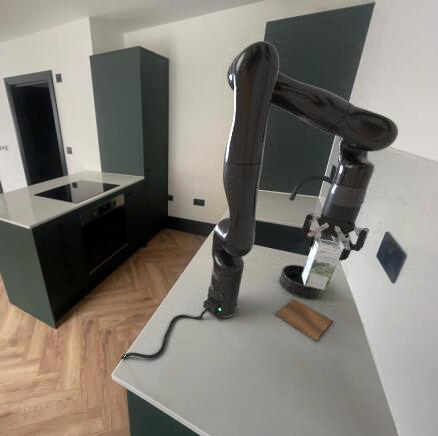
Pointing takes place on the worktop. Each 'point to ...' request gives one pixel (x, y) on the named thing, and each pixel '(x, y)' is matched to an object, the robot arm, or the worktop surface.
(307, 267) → the syrup box
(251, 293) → the worktop surface
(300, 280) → the bowl
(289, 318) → the coaster
